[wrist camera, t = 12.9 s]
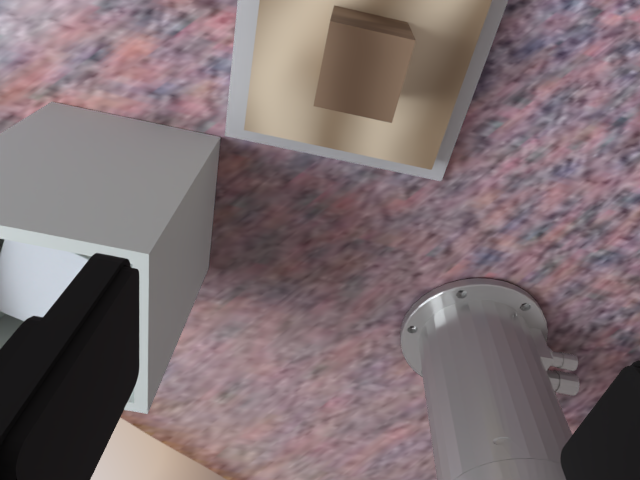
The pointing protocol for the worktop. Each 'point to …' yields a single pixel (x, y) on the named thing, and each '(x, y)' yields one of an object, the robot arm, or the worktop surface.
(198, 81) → the worktop surface
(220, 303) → the worktop surface
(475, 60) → the mat
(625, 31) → the worktop surface
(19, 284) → the supplement box
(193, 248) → the box
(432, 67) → the lid
